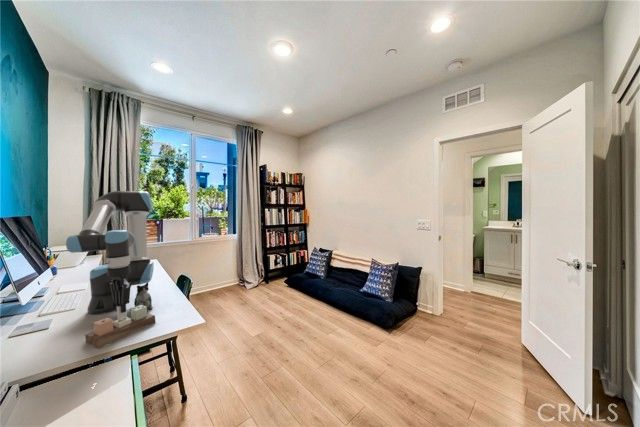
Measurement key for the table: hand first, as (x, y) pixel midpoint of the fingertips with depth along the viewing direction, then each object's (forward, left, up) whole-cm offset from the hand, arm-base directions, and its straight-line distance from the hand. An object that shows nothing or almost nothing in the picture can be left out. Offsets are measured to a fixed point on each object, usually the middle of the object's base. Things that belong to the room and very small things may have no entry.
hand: (122, 318), depth 102 cm
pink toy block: (0, -7, -3) cm, 7 cm away
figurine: (-14, +15, -6) cm, 21 cm away
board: (0, 0, -6) cm, 6 cm away
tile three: (0, +7, -3) cm, 7 cm away
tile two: (0, 0, -5) cm, 5 cm away
